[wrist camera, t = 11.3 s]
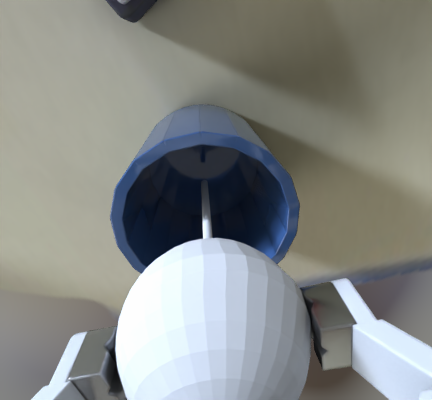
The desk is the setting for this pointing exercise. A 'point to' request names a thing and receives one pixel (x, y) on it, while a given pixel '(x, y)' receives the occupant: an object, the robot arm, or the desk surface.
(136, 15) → the calculator
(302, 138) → the desk surface
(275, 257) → the cup
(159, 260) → the lollipop
